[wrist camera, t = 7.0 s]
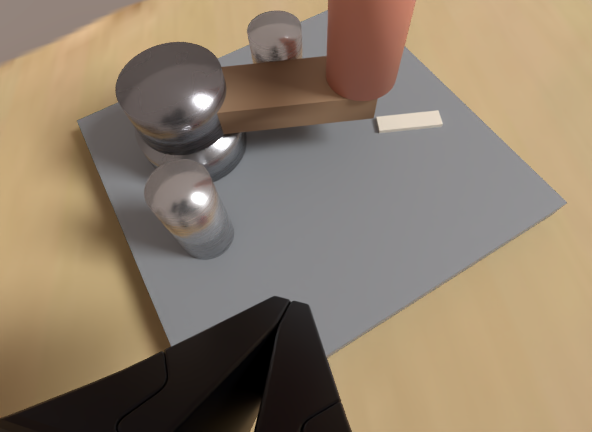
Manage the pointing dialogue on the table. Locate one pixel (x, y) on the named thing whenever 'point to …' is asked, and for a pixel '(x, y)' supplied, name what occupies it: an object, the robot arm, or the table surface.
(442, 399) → the table surface
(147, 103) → the crank
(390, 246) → the crank base
